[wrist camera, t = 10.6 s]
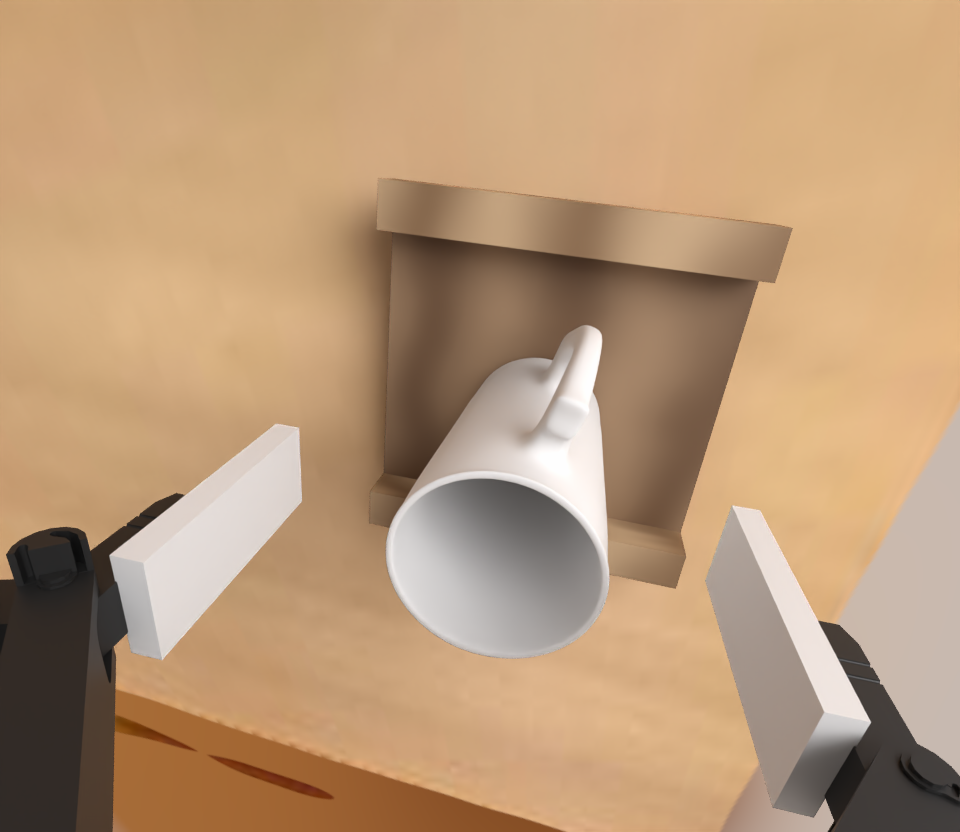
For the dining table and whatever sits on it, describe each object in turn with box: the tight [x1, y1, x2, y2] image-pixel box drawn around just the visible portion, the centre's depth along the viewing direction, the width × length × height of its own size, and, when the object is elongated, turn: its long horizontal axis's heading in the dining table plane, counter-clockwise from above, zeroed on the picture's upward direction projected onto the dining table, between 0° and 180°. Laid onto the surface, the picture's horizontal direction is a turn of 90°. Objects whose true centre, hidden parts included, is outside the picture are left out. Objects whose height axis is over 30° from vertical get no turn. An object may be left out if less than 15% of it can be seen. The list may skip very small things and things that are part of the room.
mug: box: [386, 325, 609, 659], centre depth 21 cm, size 10×7×12 cm, turn 158°
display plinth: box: [369, 178, 793, 589], centre depth 26 cm, size 16×17×4 cm
